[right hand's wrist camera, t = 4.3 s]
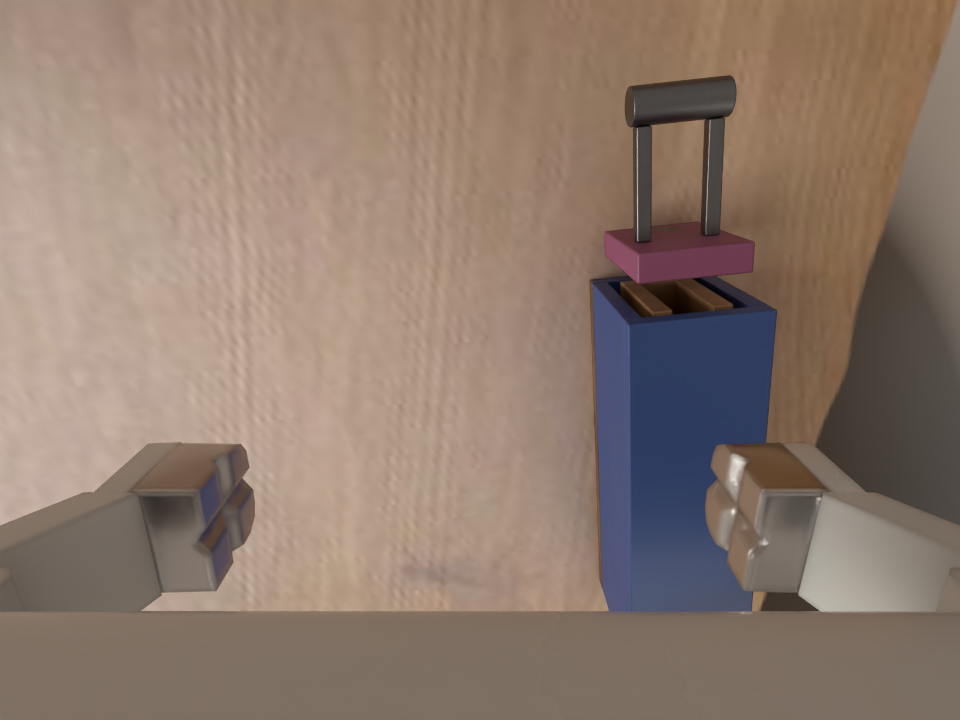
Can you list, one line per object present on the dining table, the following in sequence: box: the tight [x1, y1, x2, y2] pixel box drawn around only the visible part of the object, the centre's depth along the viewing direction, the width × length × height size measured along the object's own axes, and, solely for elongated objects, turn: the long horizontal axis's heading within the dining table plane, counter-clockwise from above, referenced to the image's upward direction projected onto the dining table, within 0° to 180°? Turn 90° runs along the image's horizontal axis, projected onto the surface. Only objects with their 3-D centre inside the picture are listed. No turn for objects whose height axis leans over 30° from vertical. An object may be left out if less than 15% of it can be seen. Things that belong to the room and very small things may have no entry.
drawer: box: [605, 75, 755, 318], centre depth 27 cm, size 24×4×6 cm, turn 6°
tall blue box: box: [590, 276, 777, 611], centre depth 29 cm, size 19×6×8 cm, turn 6°
